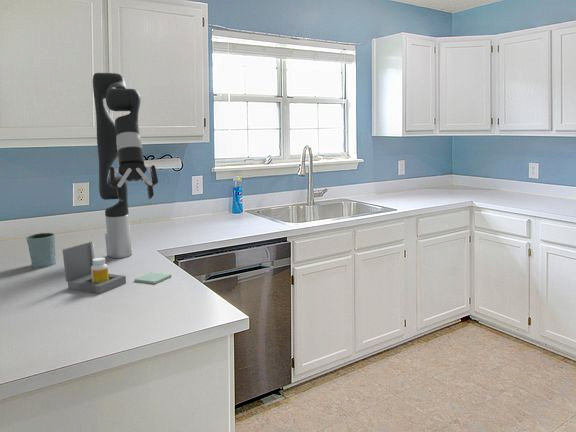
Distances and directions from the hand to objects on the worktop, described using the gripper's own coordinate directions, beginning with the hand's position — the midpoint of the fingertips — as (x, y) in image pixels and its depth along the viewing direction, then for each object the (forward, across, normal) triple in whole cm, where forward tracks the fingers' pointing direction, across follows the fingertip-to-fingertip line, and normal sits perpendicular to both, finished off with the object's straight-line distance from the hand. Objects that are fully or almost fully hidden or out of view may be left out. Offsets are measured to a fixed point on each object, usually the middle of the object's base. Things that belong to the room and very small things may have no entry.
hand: (136, 199), depth 153 cm
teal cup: (+10, +26, -65) cm, 71 cm away
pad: (+24, -7, -25) cm, 35 cm away
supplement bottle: (+24, +10, -26) cm, 37 cm away
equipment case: (+23, +11, -27) cm, 37 cm away
